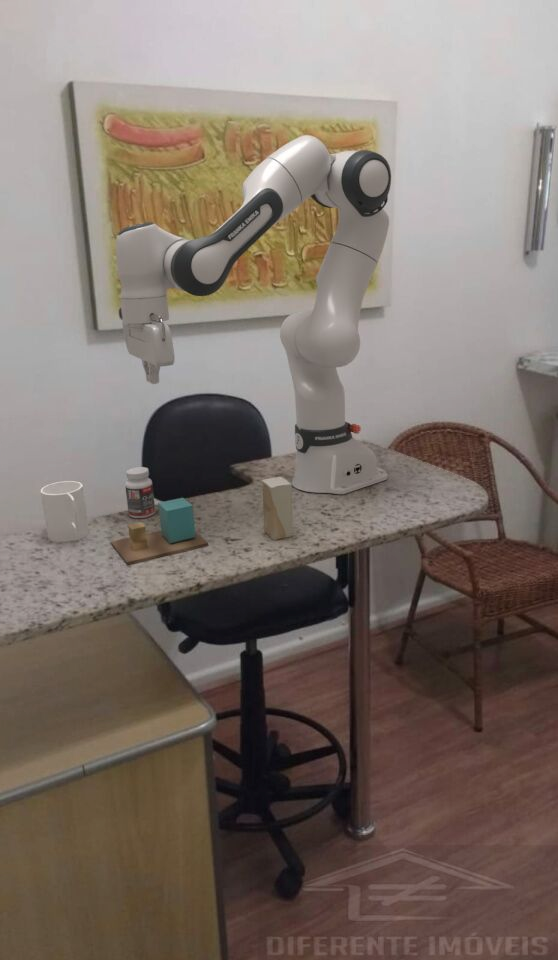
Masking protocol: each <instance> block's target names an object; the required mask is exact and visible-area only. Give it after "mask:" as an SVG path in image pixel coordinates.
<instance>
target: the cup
mask: <svg viewBox="0 0 558 960" xmlns="http://www.w3.org/2000/svg"><path fill="white" fill-rule="evenodd" d="M84 493H85V492H84V486H83V483H81V482H79V481H76V480H75V481H73V480H64V481H63V480H61V481H57V482H53V483H50V484H47V485H45V486H43V487H42V488H41V489H40V497H41V504H42V509H43V516H44V520H45V528H46V532H47V539H48V540H49V541H52V542H55V543H69V542H73V541H77V540H80V539H83V538H84V537H86V536H87V535H89V533H90V527H89V521H88V513H87V507H86V506H87V505H86V499H85V494H84Z"/></svg>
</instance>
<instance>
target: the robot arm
mask: <svg viewBox="0 0 558 960" xmlns="http://www.w3.org/2000/svg"><path fill="white" fill-rule="evenodd" d="M391 172H392V171H391V166H390V164H389V162H388V160H387V159H386V158H385V157H384V156H383V155H381V154H380V153H378V152H375V151H372V150H367V149H363V150H362V149H361V150H344V151H341V152H335V153H330V152H329V150H328V148H327V147H326V145H325V144H324V142H323V141H321V140H320V139H319V138H318V137H315V136H313V135H310V134H303V135H300V136H298V137H297V138H294V139H293V140H291V141H289V142H287V143H286V144H284V145H282V146H281V147H279V148H277V150H275V151H274V152H273V153H271V154H269V155H268V156H267V157H266V158H265V159H264V160H263V161H260V163H259V164H258V165H257V166H256V167H255V168H254V169H253V170H252V171H251V173H249V175H248V176H247V177H246V179H245V180H244V181H243V184H242V188H241V194H242V195H241V196H242V201H243V203H242V204H241V206H240V208H238V209H237V211H235V212H234V213H233V214H232V215H231V216H230V217H229V218H228V219H227V220H226V221H224V222H223V223H222V224H221V225H220V226H219V227H218V228H217V229H216V230H215V231H214V232H211V233H210V234H209V235H206V236H203V237H199V238H195V239H194V238H193V239H189V238H188V239H186V238H184V237H181V236H178V235H175V234H173V233H170V232H169V231H167V230H164V229H163V228H161V227H160V226H158V225H157V223H155V222H147V221H146V222H143V223H137V224H136V223H135V224H132V225H128V226H126V227H124V228H122V229H121V230H120V231H119V232H118V233H117V235H116V238H115V257H116V258H115V260H116V271H117V276H118V279H119V282H120V287H121V288H120V295H119V296H120V297H119V298H120V307H118V311H117V313H118V318H119V320H121V321H122V329H123V335H124V340H125V345H126V349H127V351H128V352H127V353H128V354H130V355H131V356H133V357H135V358H137V359H140V360H141V364H142V368H143V370H144V373H145V380H146V382H148V383H150V384H151V385H156V384H159V383H160V369H161V367H168V366H173V365H174V364H175V349H174V343H173V337H172V332H171V328H170V326H169V325H168V324H166V323H165V322H167V321H168V320H170V314H169V304H168V294H167V291H168V290H169V289H175V290H179V291H181V292H186V293H187V294H190V295H192V296H196V297H206V296H207V297H208V296H211V295H213V294H214V293H216V292H217V291H218V290H220V289H221V288H222V286H223V285H224V284H225V282H226V280H227V278H228V276H229V274H230V272H231V269H232V268H233V266H234V265H235V263H236V262H237V260H239V258H240V257H241V256H243V255H244V254H245V252H246V251H248V249H250V248H251V247H252V246H253V245H254V244H255V243H256V242H257V241H258V240H259V239H260V238H262V236H263V235H265V233H266V232H268V230H270V228H272V227H273V226H275V225H276V224H277V223H279V222H280V221H281V220H283V219H285V218H287V216H289V215H290V214H291V213H293V212H294V211H295V210H296V209H297V208H299V207H300V206H301V205H302V204H303V203H304V202H305V201H306V200H308V198H311V200H313V201H314V202H315V203H316V204H318V205H320V206H322V207H324V208H329V209H338V210H337V211H338V223H337V227H336V230H335V232H334V234H333V236H332V238H331V241H330V243H329V246H328V248H327V250H326V252H325V255H324V258H323V260H322V261H321V262H322V263H321V265H320V267H319V269H318V273H317V274H316V279H315V283H316V296H315V301H314V302H315V303H314V306H313V309H312V310H308V309H306V310H305V309H304V310H300V311H297V312H295V313H291V314H289V315H288V316H287V317H286V318H285V319H284V320H283V322H282V324H281V327H280V331H279V338H280V342H281V344H282V345H283V348H284V350H285V353H286V357H287V362H288V366H289V367H288V368H289V370H290V375H291V379H292V383H293V384H292V385H293V391H294V396H295V397H294V399H295V401H294V402H295V417H296V419H295V420H296V423H295V424H294V444H295V450H296V458H295V459H296V460H295V467H294V473H293V477H292V478H293V479H292V481H291V486H293V487H294V488H295V489H297V490H300V491H304V492H308V493H316V494H317V493H318V494H321V493H322V494H325V493H326V494H336V495H345V494H349V493H351V492H354V491H357V490H360V489H363V488H365V487H369V486H371V485H375V484H377V483H381V482H383V481H386V480H388V473H387V471H385V470H384V469H383V468H381V467H379V466H378V462H377V457H376V454H375V453H374V451H373V450H372V449H370V448H369V447H368V446H366V445H365V444H364V443H362V442H360V441H359V439H356V438H355V437H353V434H352V433H354V434H360V432H361V426H360V425H358V424H356V423H352V424H351V423H349V422H347V421H346V410H345V409H346V405H345V404H346V403H345V402H346V401H345V400H346V399H345V394H346V393H345V388H344V386H343V385H344V384H343V383H342V381H341V380H340V377H339V374H338V370H337V368H341V367H345V366H347V365H349V364H351V363H352V362H353V361H354V360H355V359H356V358H357V355H358V353H359V351H360V348H361V338H360V334H359V329H358V328H359V322H360V317H361V310H362V306H363V305H362V304H363V300H364V298H365V295H366V292H367V290H368V287H369V284H370V282H371V279H372V277H373V275H374V273H375V269H376V267H377V265H378V263H379V260H380V258H381V255H382V253H383V250H384V246H385V243H386V239H387V235H388V232H389V227H390V219H389V215H388V213H387V212H386V211H385V209H384V208H385V206H386V205H387V203H388V200H389V199H388V197H389V194H390V193H389V192H390V190H391V183H392V173H391Z"/></svg>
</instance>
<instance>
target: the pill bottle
mask: <svg viewBox="0 0 558 960" xmlns="http://www.w3.org/2000/svg"><path fill="white" fill-rule="evenodd" d="M125 473H126V478H127V480H126V482H125V484H124V485H125V495H126V504H127V511H128V515H129V516H130V518H134V519H145V518H149V517H151V516H153V515H154V514H155V513H156V506H155V505H156V504H155V497H154V496H155V495H154V487H153V481H152V479H151V478H149V475H150V471H149V468H148V467H144V466H138V467H137V466H135V467H133V468H130V469H127V470H126V472H125Z"/></svg>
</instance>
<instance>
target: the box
mask: <svg viewBox="0 0 558 960" xmlns="http://www.w3.org/2000/svg"><path fill="white" fill-rule="evenodd" d="M261 484H262V485H261V486H262V507H263V510H262V511H263V529H264V532H265V533H266V534H267V536H269V537H270V538H271V540H274V541H276V540H282V539H285V538H289V537H293V536H294V528H293V527H294V526H293V525H294V523H293V522H294V521H293V494H292V493H293V491H292V490H293V489H292V488H293V487H292V486H293V485H292V482H289V481H288V480H287V479H286V478H284V477H282V476H277V477H271V478H270V477H269V478H264V479H261Z"/></svg>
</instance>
